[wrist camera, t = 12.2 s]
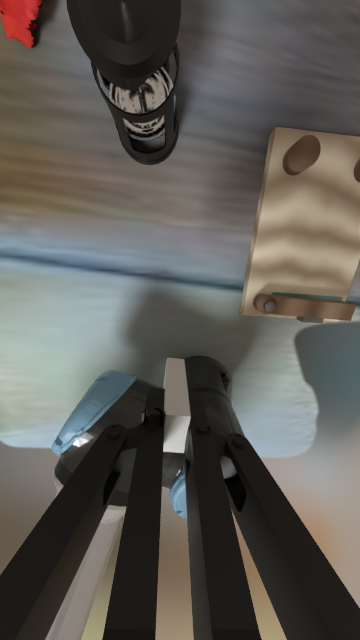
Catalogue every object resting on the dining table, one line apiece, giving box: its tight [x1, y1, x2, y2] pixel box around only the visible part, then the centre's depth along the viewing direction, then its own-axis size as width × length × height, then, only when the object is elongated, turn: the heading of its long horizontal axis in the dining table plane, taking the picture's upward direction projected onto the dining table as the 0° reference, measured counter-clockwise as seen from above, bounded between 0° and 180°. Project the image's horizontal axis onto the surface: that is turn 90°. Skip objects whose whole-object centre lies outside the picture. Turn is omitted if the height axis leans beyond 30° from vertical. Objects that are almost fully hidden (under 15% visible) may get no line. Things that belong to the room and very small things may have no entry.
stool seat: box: [239, 127, 360, 323], centre depth 35 cm, size 30×20×5 cm, turn 176°
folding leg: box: [253, 294, 356, 321], centre depth 37 cm, size 18×3×4 cm, turn 85°
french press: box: [66, 0, 181, 165], centre depth 21 cm, size 12×9×23 cm
